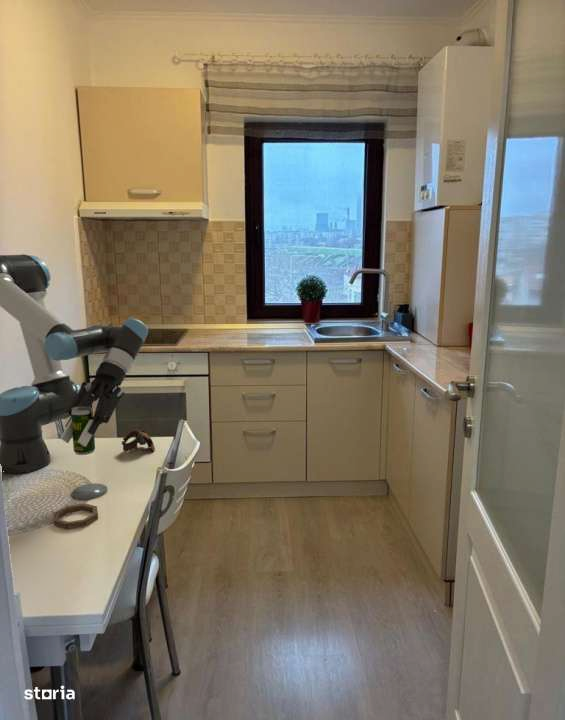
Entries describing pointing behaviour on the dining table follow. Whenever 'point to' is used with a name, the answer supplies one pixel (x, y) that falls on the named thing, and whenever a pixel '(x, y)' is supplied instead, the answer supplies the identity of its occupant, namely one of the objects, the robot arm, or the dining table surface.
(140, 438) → the dark brown arched part
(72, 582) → the dining table surface
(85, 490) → the slate coaster
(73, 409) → the beer can
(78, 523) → the walnut ring
